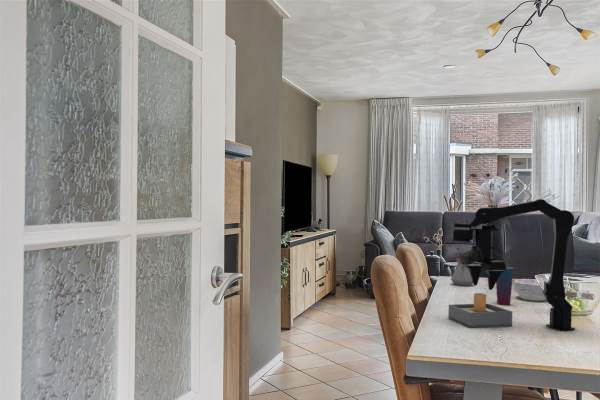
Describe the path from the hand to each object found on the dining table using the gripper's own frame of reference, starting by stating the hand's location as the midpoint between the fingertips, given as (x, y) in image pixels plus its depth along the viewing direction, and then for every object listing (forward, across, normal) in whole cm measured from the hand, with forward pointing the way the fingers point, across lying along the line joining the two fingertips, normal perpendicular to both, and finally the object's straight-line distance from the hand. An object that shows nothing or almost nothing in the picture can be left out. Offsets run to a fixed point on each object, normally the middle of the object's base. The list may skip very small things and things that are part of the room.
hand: (482, 287), depth 186 cm
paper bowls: (+12, -34, +48) cm, 60 cm away
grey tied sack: (+12, -70, +35) cm, 79 cm away
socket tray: (+12, +1, -2) cm, 12 cm away
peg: (+11, +1, -2) cm, 11 cm away
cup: (+12, -26, +27) cm, 40 cm away
